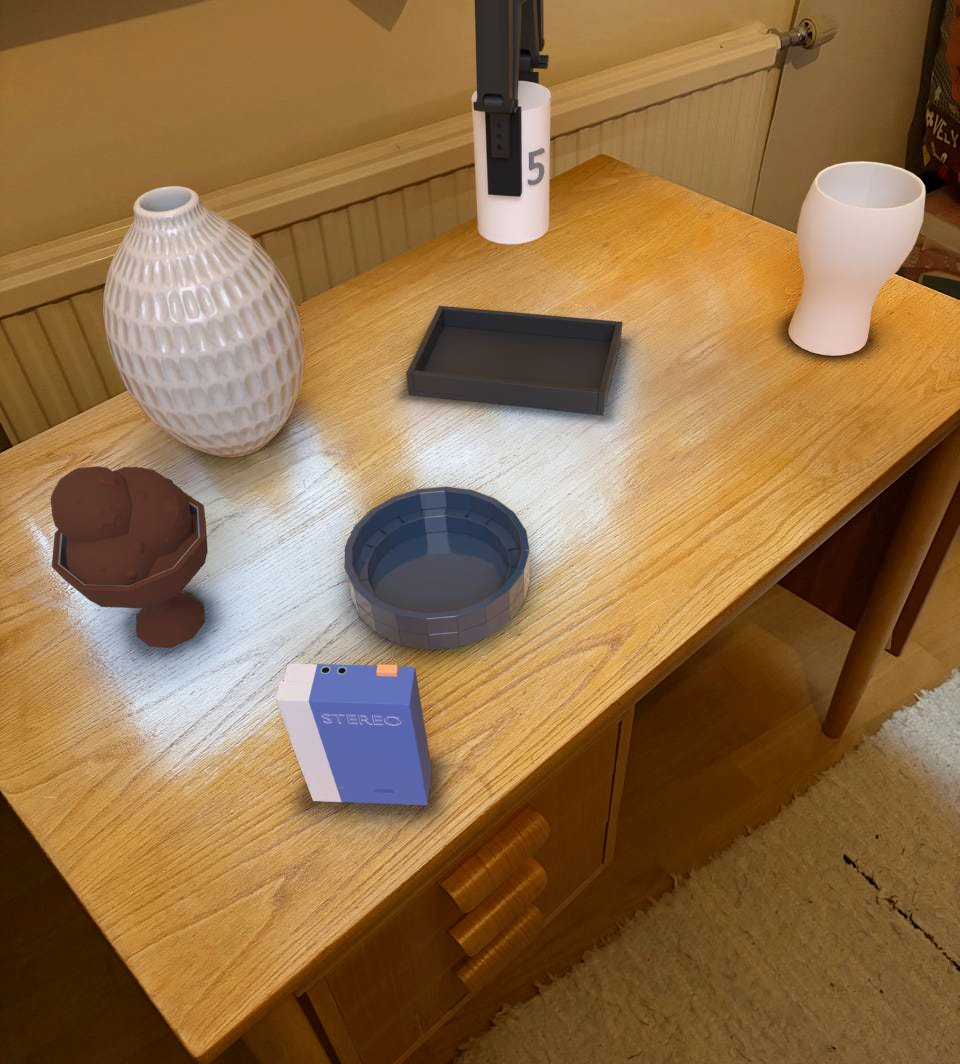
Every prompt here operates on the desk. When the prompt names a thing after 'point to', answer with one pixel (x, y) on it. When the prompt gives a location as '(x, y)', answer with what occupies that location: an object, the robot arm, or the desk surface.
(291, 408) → the vase
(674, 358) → the desk surface
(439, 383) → the tray
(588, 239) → the desk surface
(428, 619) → the bowl
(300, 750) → the walkman
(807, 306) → the cup
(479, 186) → the candle
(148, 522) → the ice cream bowl
